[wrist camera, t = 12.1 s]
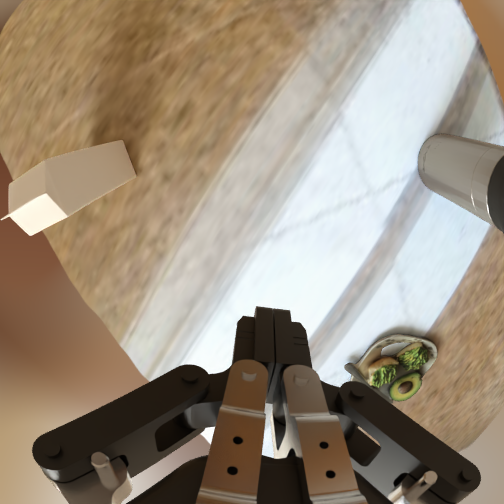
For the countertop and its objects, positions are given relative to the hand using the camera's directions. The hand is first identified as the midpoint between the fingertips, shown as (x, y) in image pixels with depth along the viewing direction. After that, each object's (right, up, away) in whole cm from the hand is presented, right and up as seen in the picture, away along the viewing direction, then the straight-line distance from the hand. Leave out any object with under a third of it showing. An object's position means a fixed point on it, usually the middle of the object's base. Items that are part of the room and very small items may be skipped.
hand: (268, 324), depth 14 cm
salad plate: (+27, -19, +43) cm, 55 cm away
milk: (-21, +16, +29) cm, 39 cm away
